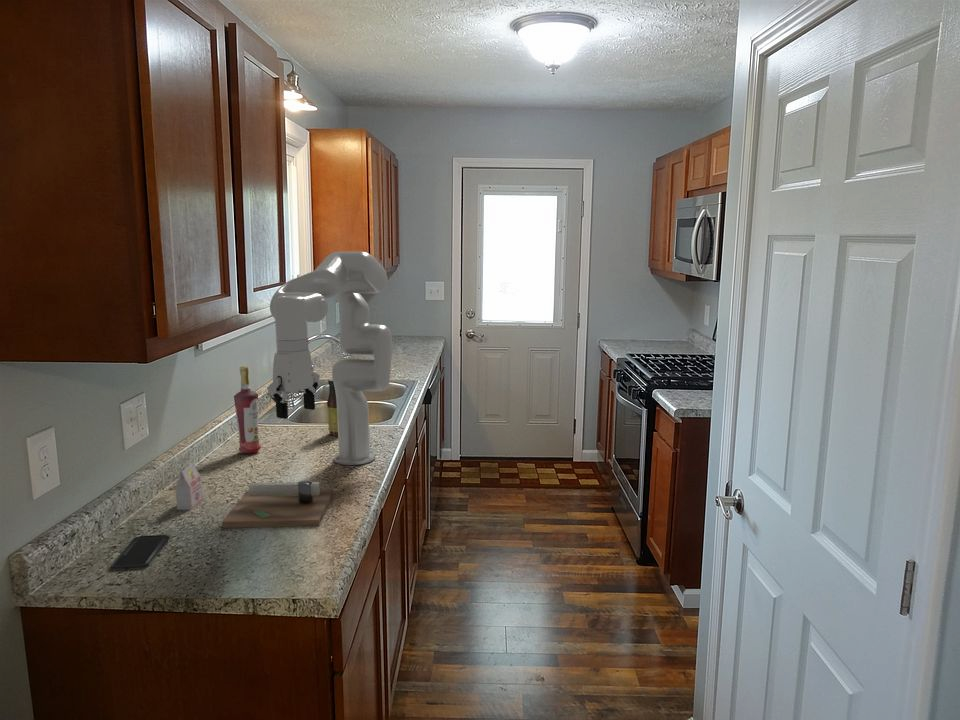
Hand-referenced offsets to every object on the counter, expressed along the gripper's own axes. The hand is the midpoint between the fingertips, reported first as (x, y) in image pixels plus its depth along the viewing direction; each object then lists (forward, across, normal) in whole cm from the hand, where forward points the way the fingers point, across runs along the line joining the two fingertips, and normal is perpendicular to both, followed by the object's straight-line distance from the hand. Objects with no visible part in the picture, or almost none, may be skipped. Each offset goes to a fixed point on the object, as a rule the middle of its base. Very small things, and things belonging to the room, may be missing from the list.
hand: (296, 413), depth 170 cm
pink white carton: (+25, +12, -27) cm, 39 cm away
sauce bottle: (+25, -56, -34) cm, 70 cm away
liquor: (+25, -27, -46) cm, 59 cm away
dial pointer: (+23, +2, -3) cm, 23 cm away
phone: (+26, +36, -14) cm, 46 cm away
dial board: (+25, +4, -3) cm, 25 cm away
